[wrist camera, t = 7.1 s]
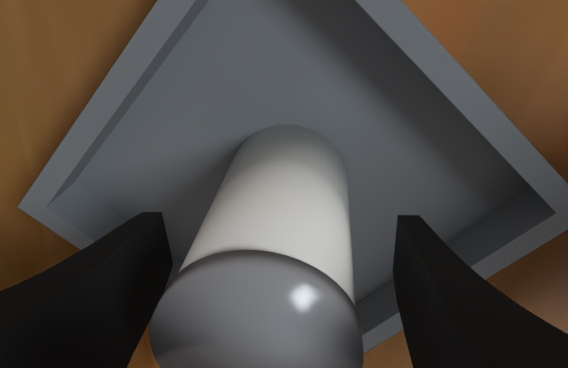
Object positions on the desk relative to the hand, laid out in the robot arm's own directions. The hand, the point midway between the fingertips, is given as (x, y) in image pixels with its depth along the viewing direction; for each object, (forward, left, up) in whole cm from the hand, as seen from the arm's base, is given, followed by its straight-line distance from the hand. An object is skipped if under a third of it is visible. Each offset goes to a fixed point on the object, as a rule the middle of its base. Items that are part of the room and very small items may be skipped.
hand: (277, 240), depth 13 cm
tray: (0, 0, -4) cm, 4 cm away
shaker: (0, 0, -4) cm, 4 cm away
